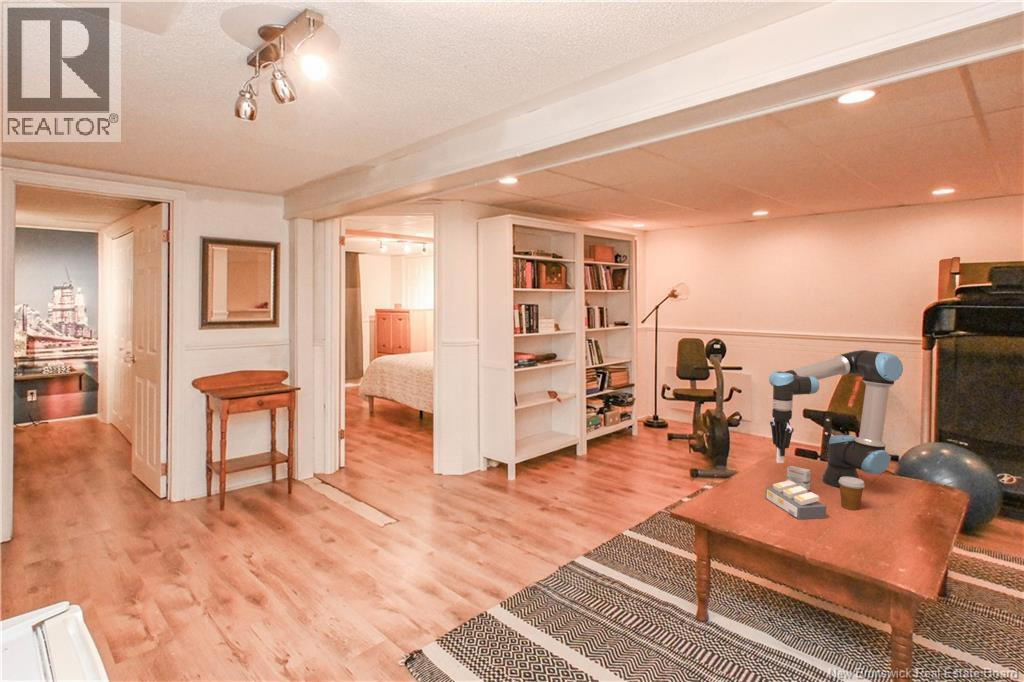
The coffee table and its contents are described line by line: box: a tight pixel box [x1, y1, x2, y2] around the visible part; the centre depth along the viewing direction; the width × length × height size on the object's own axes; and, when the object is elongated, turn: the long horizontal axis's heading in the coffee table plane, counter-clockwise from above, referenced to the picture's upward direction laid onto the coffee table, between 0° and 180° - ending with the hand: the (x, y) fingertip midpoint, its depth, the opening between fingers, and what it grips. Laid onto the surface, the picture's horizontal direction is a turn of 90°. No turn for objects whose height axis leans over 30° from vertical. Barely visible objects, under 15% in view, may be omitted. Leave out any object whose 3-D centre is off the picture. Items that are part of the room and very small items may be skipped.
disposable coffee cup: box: [839, 476, 866, 511], centre depth 226 cm, size 10×10×12 cm
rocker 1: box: [772, 479, 797, 492], centre depth 232 cm, size 8×4×2 cm, turn 97°
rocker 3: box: [794, 491, 820, 506], centre depth 218 cm, size 8×4×2 cm, turn 97°
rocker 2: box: [783, 486, 808, 499], centre depth 225 cm, size 8×4×2 cm, turn 97°
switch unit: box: [765, 486, 827, 521], centre depth 225 cm, size 13×22×6 cm, turn 8°
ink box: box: [786, 465, 812, 493], centre depth 241 cm, size 8×5×12 cm, turn 39°
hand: (780, 462), depth 231 cm, fingers closed
